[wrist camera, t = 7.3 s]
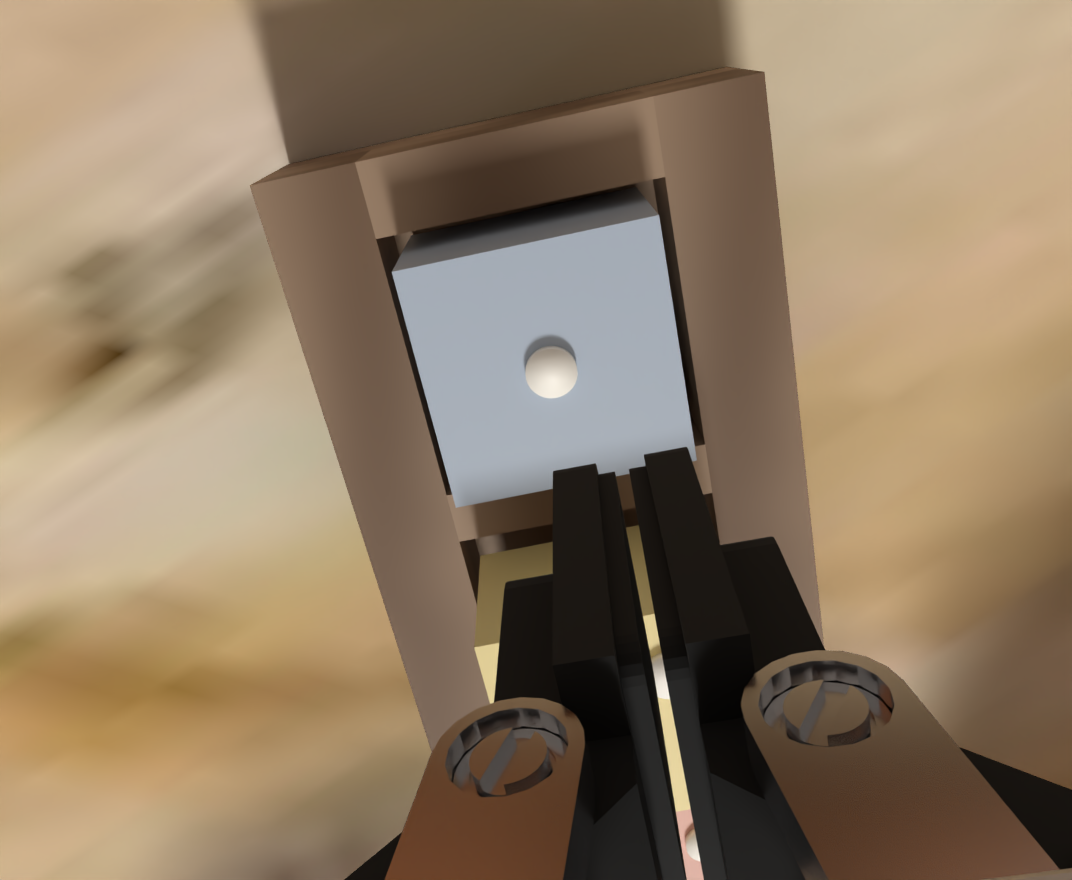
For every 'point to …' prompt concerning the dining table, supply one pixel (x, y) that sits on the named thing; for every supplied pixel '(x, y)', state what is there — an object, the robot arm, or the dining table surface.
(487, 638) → the tile
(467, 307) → the tile
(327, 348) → the wooden tile rack
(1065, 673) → the dining table surface
